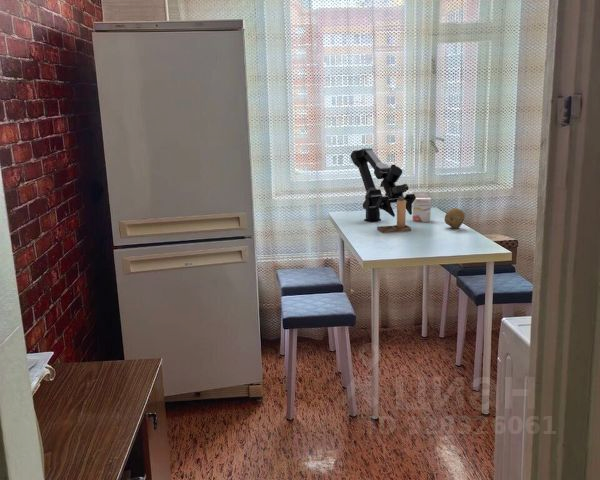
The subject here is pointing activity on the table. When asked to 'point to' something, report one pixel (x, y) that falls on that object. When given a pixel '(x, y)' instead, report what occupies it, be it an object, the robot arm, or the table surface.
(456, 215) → the natural sponge
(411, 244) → the table surface
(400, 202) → the tan rounded column
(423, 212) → the ink cartridge box
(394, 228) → the brown divided tray
